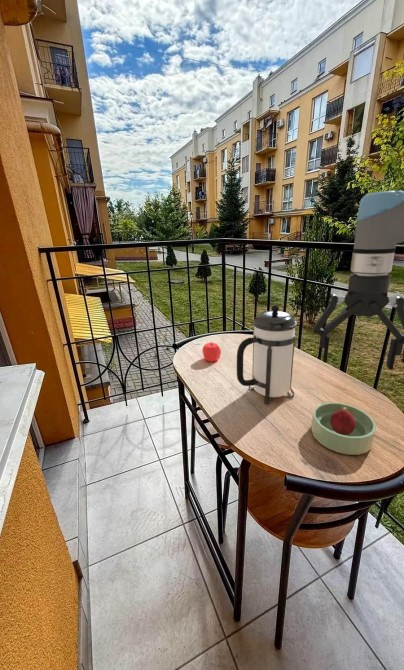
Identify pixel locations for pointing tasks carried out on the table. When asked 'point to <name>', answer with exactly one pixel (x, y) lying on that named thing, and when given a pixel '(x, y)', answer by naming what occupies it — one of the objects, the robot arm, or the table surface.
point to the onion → (342, 422)
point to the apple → (211, 352)
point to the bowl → (339, 443)
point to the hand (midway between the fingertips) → (355, 363)
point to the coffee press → (270, 354)
